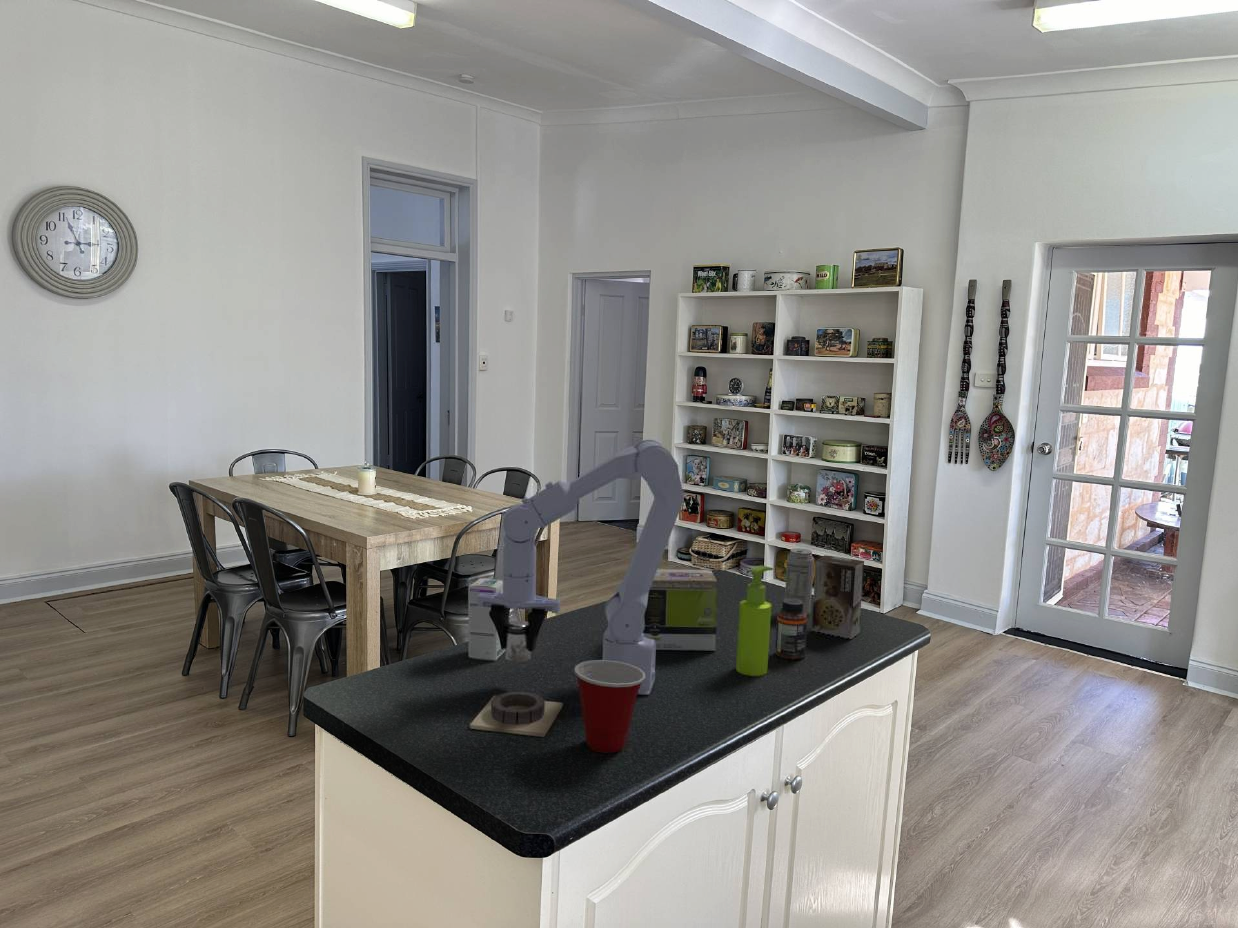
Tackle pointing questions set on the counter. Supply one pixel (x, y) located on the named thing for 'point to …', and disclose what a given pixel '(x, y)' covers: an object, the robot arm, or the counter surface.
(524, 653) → the silver capped cylinder
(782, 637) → the supplement bottle
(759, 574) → the soap dispenser
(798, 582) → the energy drink can
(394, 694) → the counter surface
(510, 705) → the mount plate
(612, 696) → the plastic cup
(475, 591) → the syrup box
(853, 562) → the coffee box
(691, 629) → the tea box
